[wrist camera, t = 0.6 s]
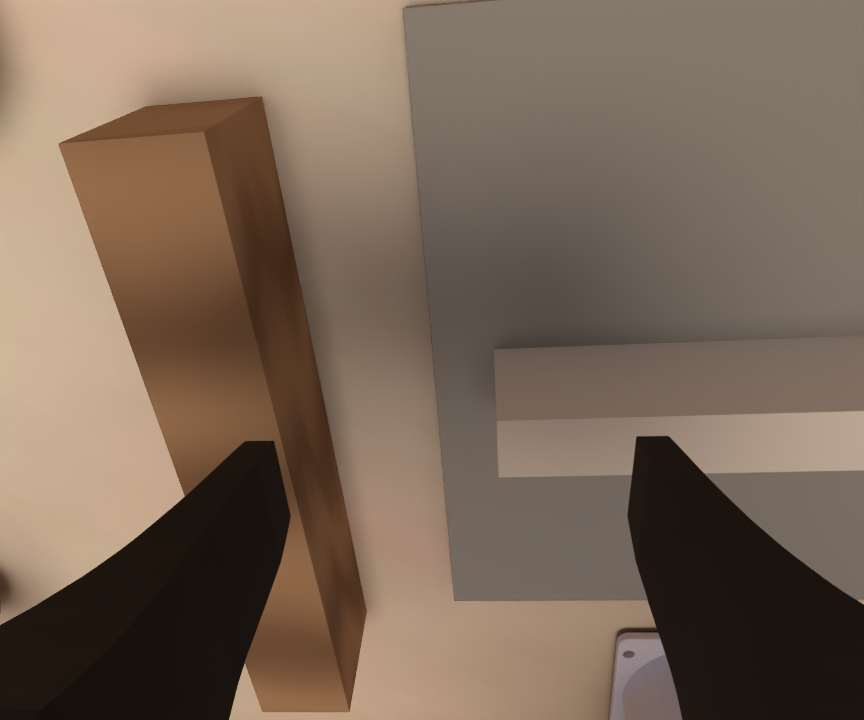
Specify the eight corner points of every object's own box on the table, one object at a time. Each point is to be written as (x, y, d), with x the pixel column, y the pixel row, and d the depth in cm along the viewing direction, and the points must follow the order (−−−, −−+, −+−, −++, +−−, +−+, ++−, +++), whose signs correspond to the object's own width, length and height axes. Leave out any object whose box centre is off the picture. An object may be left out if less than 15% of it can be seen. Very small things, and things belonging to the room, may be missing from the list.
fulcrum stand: (896, 579, 27) (975, 694, 23) (454, 581, 29) (450, 689, 25) (1144, -56, 16) (1385, -64, 12) (406, 6, 18) (383, 18, 13)
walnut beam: (367, 606, 30) (349, 711, 26) (292, 607, 31) (262, 711, 26) (264, 95, 19) (203, 131, 15) (149, 104, 20) (58, 143, 15)
